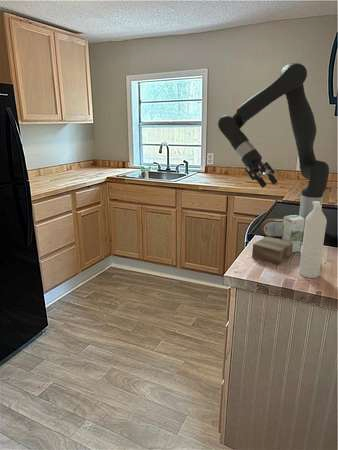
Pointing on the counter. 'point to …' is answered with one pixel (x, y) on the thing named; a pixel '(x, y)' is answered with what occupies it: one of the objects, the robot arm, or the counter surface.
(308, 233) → the water bottle
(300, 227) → the syrup box
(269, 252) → the walnut block
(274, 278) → the counter surface
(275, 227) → the tin
